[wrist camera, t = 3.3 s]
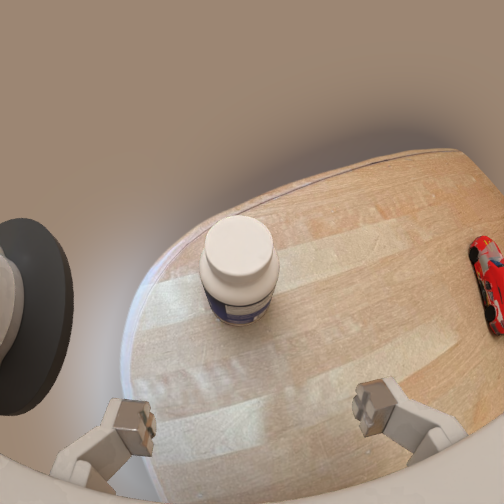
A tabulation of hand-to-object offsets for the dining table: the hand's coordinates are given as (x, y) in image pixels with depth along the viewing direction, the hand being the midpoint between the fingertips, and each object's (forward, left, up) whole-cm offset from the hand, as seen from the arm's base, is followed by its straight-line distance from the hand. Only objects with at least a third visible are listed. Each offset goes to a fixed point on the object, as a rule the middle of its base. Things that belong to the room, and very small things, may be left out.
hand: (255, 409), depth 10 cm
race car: (+32, 0, -13) cm, 34 cm away
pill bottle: (+2, +9, -13) cm, 16 cm away
